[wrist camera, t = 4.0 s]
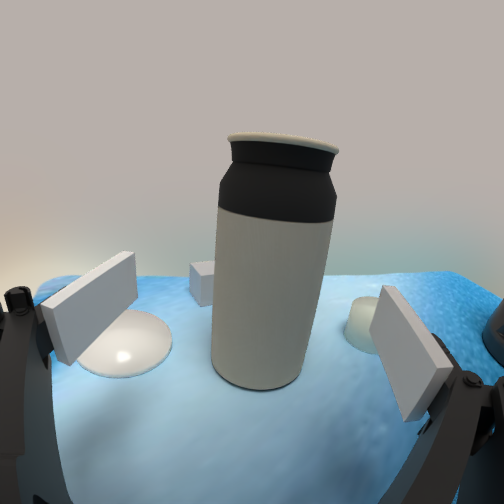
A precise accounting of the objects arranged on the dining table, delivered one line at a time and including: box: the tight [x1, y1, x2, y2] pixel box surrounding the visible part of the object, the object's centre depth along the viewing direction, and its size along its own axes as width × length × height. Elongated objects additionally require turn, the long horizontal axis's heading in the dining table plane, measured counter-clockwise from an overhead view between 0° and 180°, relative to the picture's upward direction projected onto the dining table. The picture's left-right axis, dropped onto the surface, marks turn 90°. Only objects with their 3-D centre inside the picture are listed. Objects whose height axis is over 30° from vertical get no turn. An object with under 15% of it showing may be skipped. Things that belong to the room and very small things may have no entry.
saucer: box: [76, 309, 172, 378], centre depth 23 cm, size 10×10×1 cm
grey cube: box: [190, 261, 215, 307], centre depth 33 cm, size 4×4×4 cm
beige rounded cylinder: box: [344, 297, 379, 355], centre depth 27 cm, size 6×6×4 cm
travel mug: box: [211, 132, 339, 390], centre depth 20 cm, size 8×8×18 cm
